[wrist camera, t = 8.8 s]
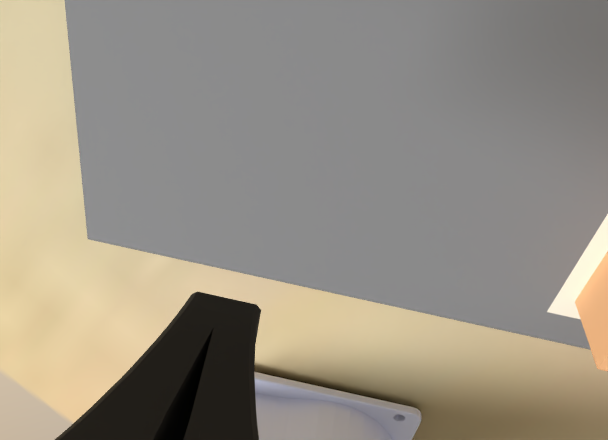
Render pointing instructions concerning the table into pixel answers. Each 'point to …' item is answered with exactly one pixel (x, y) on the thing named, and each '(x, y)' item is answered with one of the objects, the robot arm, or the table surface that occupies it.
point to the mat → (356, 146)
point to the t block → (596, 313)
